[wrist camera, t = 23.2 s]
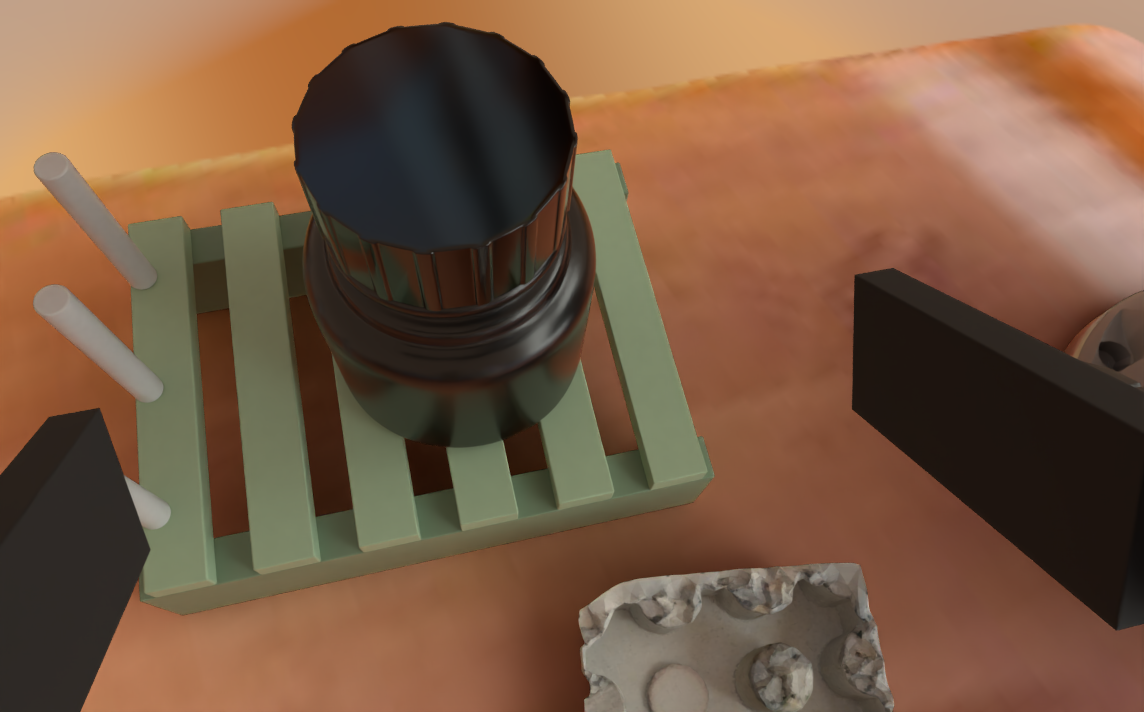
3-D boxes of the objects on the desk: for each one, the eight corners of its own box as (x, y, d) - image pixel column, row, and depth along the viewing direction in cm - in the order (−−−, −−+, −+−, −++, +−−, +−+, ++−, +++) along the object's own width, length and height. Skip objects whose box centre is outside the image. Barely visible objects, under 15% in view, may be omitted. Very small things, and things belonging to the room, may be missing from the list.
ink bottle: (583, 230, 34) (619, -10, 23) (603, 445, 30) (657, 286, 19) (331, 237, 33) (241, -8, 22) (322, 460, 29) (209, 302, 18)
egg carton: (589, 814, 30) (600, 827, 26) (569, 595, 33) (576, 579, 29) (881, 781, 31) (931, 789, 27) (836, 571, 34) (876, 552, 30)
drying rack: (609, 213, 40) (647, 19, 29) (693, 502, 35) (778, 400, 24) (162, 287, 37) (15, 102, 26) (181, 615, 32) (8, 558, 21)
